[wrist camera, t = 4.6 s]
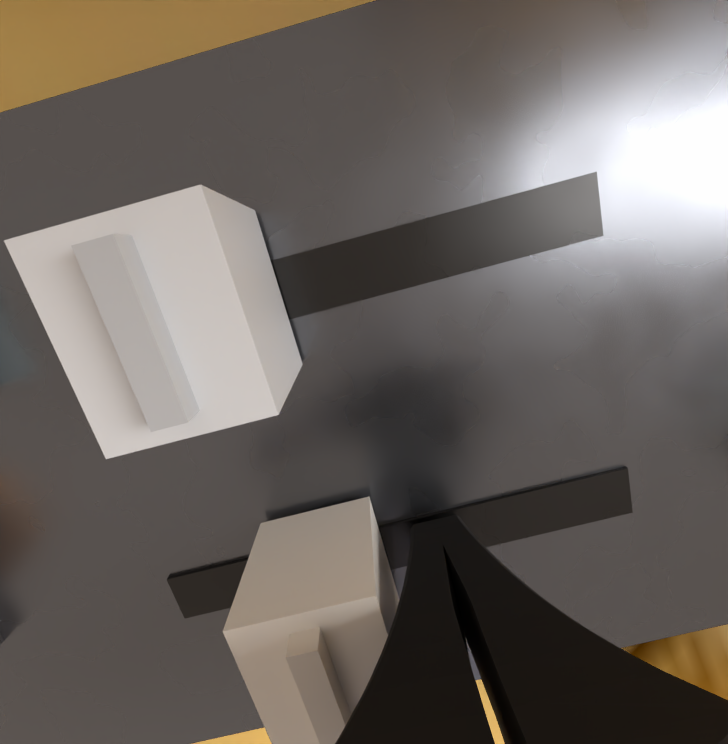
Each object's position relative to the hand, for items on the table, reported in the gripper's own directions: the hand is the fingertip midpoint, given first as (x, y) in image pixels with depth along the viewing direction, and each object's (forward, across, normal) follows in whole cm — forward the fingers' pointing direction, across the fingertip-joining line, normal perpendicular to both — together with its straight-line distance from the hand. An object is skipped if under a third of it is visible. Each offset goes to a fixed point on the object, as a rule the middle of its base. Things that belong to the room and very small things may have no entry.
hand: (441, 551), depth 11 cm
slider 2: (0, +3, 0) cm, 3 cm away
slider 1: (0, +4, -8) cm, 8 cm away
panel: (+2, +6, -4) cm, 7 cm away
